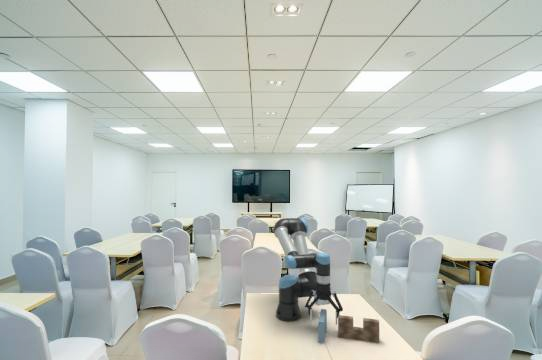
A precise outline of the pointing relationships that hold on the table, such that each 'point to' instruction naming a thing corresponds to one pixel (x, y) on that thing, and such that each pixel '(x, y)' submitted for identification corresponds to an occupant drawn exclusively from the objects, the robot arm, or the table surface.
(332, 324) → the table surface
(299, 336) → the table surface
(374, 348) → the table surface
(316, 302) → the skincare box
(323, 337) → the long blue bar
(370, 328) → the slotted beam
